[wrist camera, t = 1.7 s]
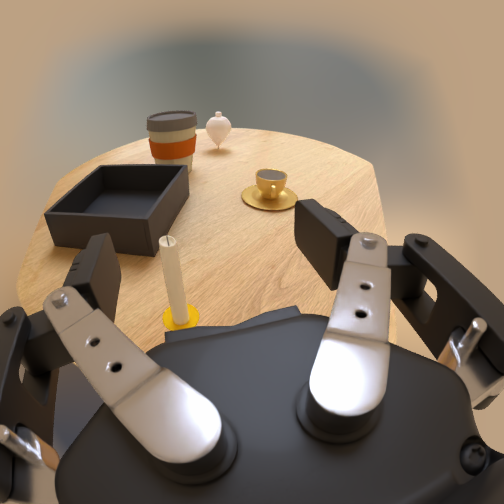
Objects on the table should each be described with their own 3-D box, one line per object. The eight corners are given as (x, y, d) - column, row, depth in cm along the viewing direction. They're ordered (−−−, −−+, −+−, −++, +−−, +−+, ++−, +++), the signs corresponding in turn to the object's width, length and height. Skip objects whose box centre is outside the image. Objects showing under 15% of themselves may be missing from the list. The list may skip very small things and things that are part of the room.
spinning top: (208, 145, 90) (208, 109, 83) (231, 145, 90) (232, 110, 83) (203, 152, 84) (203, 114, 77) (229, 153, 84) (229, 114, 77)
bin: (54, 245, 46) (43, 213, 42) (105, 191, 63) (100, 165, 59) (154, 257, 45) (147, 219, 41) (189, 194, 62) (187, 164, 58)
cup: (240, 185, 66) (241, 163, 63) (292, 186, 67) (294, 165, 64) (242, 211, 57) (243, 186, 54) (302, 212, 58) (306, 188, 55)
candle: (214, 334, 34) (207, 223, 25) (200, 369, 30) (182, 261, 21) (175, 323, 35) (154, 214, 25) (158, 356, 31) (123, 248, 21)
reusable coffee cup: (146, 181, 67) (140, 122, 58) (155, 163, 77) (151, 112, 68) (196, 179, 68) (195, 119, 59) (199, 161, 78) (198, 109, 69)
